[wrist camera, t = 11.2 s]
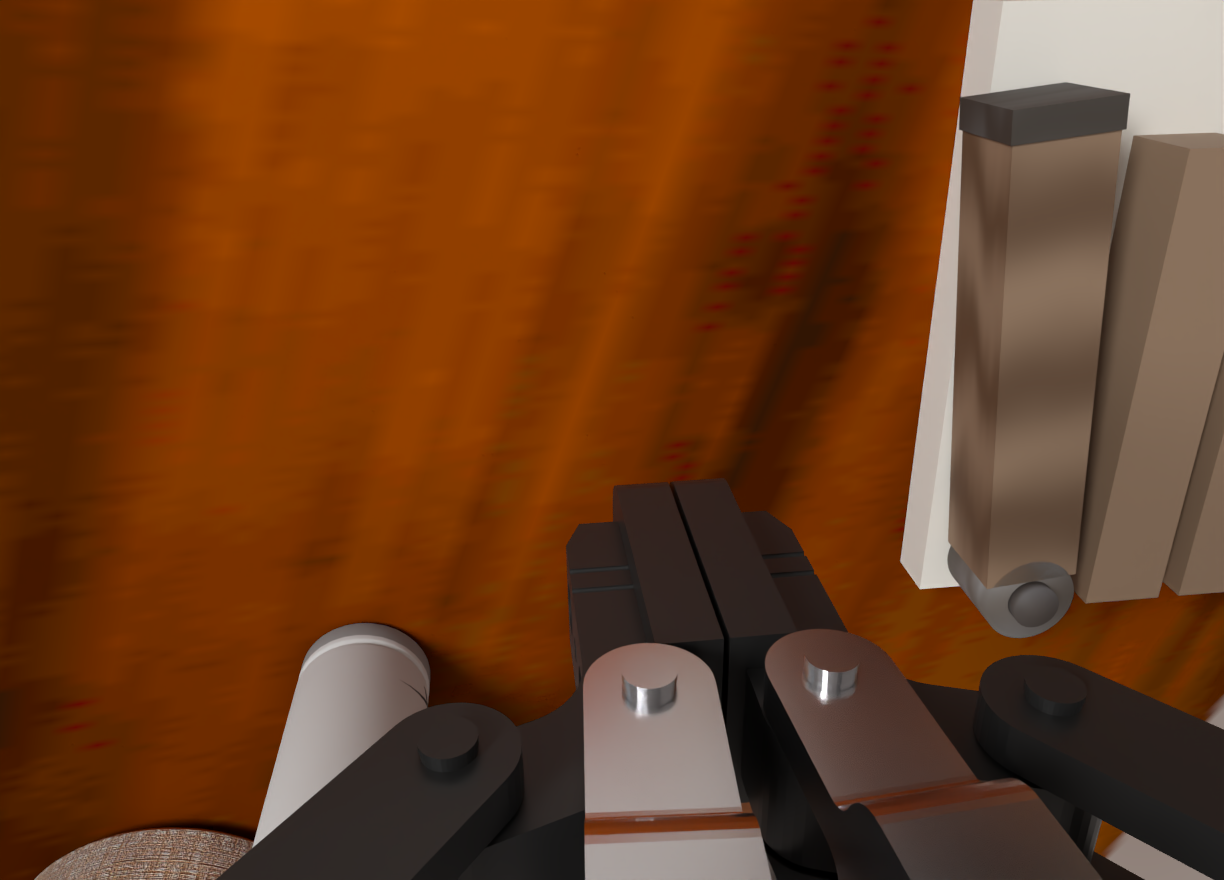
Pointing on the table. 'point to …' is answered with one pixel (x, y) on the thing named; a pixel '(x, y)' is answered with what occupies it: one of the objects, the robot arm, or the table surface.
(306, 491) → the table surface
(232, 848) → the planter
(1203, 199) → the slatted block on base
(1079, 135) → the hinged leg
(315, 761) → the travel mug
